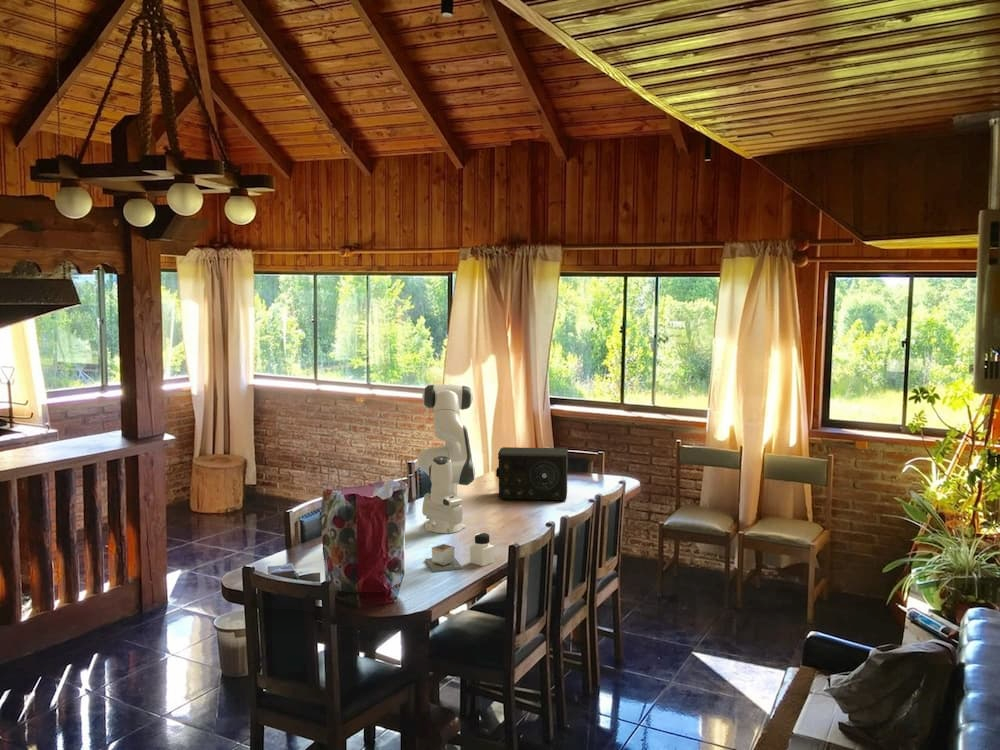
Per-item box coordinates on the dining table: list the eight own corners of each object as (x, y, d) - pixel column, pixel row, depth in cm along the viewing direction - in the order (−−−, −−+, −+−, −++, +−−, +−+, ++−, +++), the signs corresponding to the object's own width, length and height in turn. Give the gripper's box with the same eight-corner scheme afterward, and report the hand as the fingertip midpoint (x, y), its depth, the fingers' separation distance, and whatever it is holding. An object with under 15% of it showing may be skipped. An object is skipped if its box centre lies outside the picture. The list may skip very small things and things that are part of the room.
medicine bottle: (494, 562, 357) (494, 533, 356) (482, 566, 352) (482, 537, 350) (481, 558, 362) (481, 530, 361) (469, 562, 357) (469, 534, 355)
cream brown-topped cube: (431, 561, 354) (431, 547, 353) (443, 557, 359) (443, 543, 358) (443, 565, 349) (442, 550, 349) (454, 561, 354) (454, 547, 353)
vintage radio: (494, 501, 452) (494, 454, 449) (498, 492, 471) (498, 447, 468) (566, 503, 448) (566, 455, 445) (567, 494, 467) (568, 448, 464)
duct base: (424, 561, 359) (424, 548, 358) (453, 558, 362) (453, 545, 362) (432, 572, 346) (432, 559, 345) (461, 568, 349) (461, 555, 349)
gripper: (418, 493, 356) (418, 526, 357) (453, 503, 342) (453, 537, 344) (430, 490, 360) (430, 523, 362) (464, 500, 346) (464, 533, 348)
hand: (441, 530), depth 353 cm, fingers open, 8 cm apart
